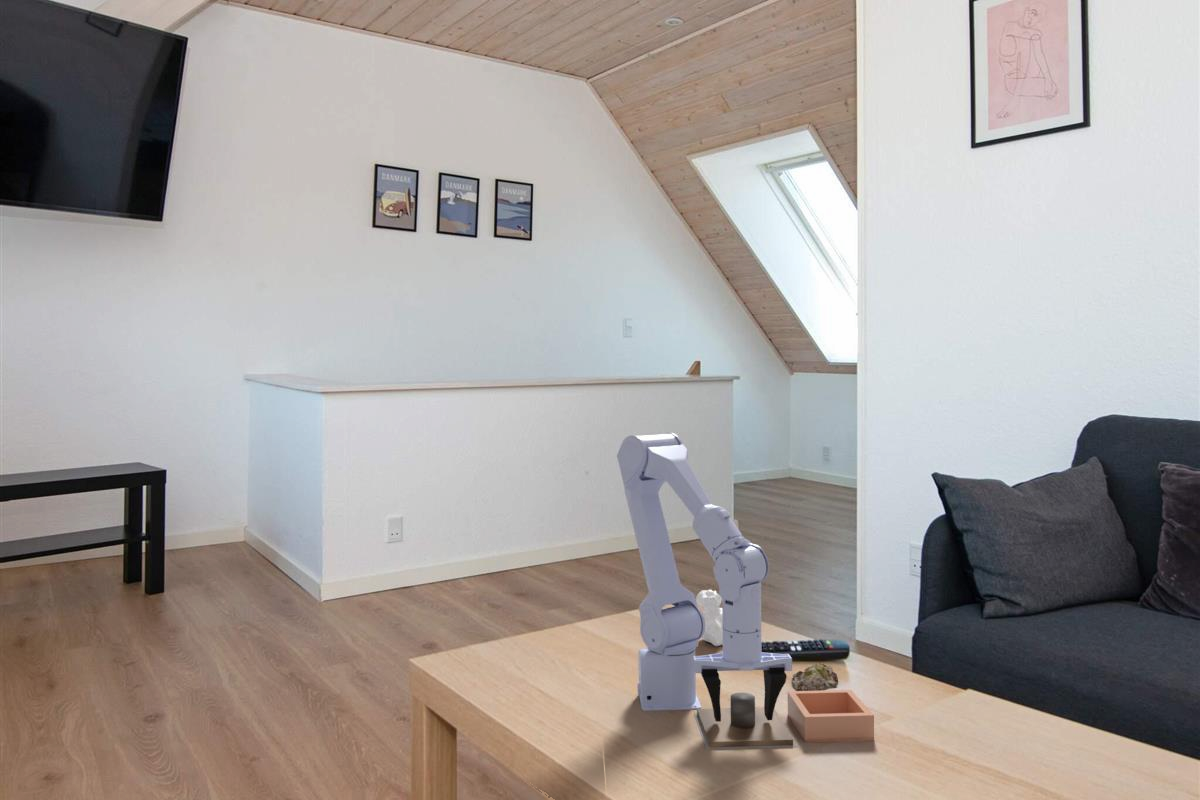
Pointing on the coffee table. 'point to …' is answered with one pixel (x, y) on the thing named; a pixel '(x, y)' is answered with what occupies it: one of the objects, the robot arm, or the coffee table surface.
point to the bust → (712, 616)
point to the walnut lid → (743, 725)
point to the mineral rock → (815, 678)
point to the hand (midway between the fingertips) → (742, 718)
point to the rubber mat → (734, 747)
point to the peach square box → (830, 716)
